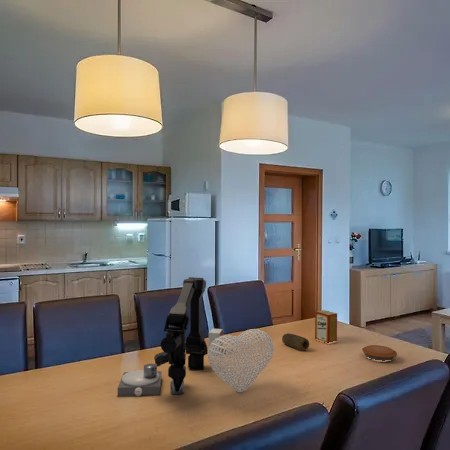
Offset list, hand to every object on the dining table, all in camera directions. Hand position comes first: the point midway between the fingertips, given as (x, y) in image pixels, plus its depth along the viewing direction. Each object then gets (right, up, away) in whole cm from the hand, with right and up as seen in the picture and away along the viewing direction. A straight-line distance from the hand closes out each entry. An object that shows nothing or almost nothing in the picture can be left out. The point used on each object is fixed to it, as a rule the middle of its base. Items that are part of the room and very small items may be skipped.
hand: (177, 386), depth 148 cm
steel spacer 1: (-11, +2, +5) cm, 12 cm away
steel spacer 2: (0, -2, 0) cm, 2 cm away
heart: (+24, -3, +1) cm, 24 cm away
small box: (+13, -2, +47) cm, 48 cm away
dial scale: (-15, -2, +4) cm, 15 cm away
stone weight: (+54, -3, +55) cm, 77 cm away
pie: (+91, -4, +40) cm, 100 cm away
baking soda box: (+73, -3, +67) cm, 99 cm away
